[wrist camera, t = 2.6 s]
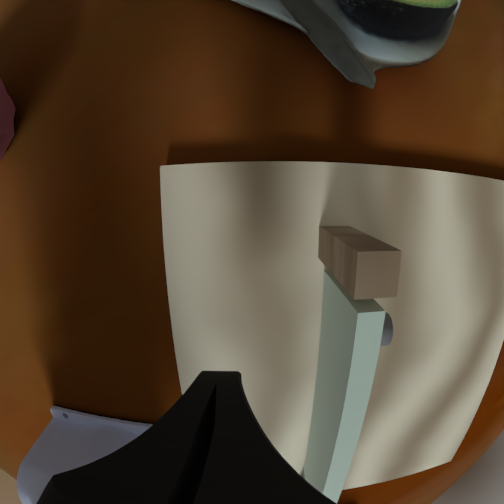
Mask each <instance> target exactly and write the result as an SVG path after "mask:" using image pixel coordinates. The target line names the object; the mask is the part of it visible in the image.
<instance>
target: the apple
mask: <svg viewBox="0 0 504 504" xmlns="http://www.w3.org/2000/svg"><path fill="white" fill-rule="evenodd" d="M15 110H16V109H15V106H14V103H13V101H12V99H11V98H10V96H9V95H8V94H7V92H6V89H5V86H4V84H3V82H2V80H1V78H0V160H1V159H2V157H3V155H4V153H5V151H6V149H7V147H8V146H9V144H10V142H11V140H12V138H13V137H14V123H13V120H14V115H15Z"/></svg>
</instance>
